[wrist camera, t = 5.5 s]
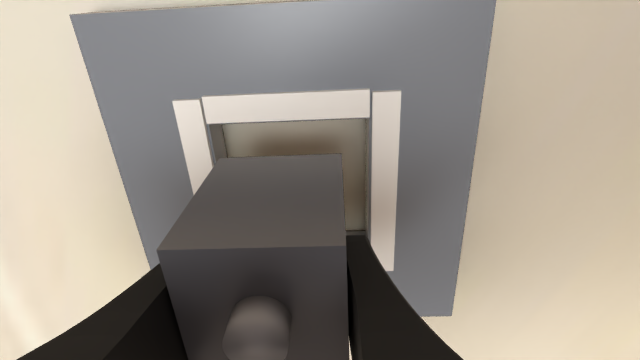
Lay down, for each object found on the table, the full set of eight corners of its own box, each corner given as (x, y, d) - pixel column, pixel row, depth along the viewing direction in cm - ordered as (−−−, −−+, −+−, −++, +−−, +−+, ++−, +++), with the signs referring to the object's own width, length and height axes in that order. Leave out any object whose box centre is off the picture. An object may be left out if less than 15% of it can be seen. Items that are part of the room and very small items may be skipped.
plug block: (341, 153, 12) (347, 271, 7) (344, 254, 14) (350, 407, 9) (219, 158, 13) (139, 275, 7) (237, 256, 14) (182, 407, 9)
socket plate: (481, -10, 13) (500, -10, 12) (443, 293, 20) (452, 319, 18) (94, 12, 14) (65, 15, 13) (177, 297, 20) (164, 322, 19)
